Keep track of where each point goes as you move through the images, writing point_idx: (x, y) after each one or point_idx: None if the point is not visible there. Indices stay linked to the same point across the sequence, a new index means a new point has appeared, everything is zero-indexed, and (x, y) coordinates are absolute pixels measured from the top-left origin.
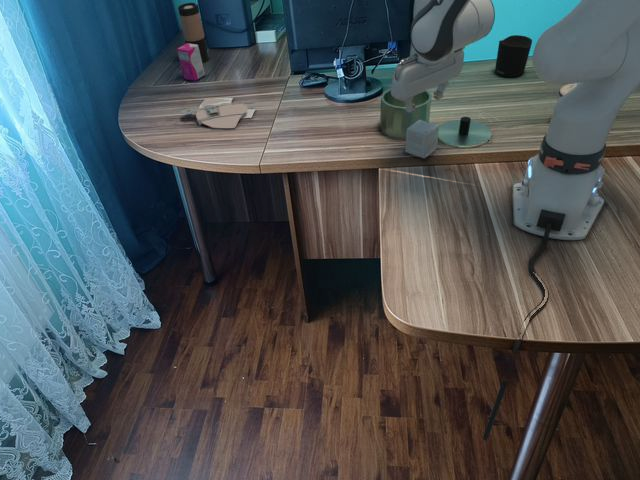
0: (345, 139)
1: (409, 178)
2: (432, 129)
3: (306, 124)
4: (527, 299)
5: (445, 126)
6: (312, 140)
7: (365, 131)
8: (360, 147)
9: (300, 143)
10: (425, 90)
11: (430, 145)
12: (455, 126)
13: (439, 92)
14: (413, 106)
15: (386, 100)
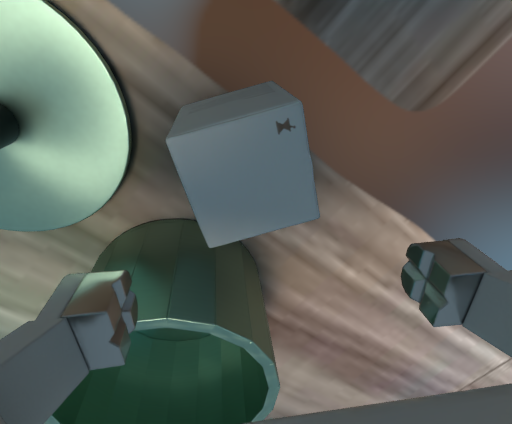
0: (351, 321)
1: (417, 8)
2: (232, 126)
3: (358, 403)
4: None
5: (46, 210)
6: (406, 352)
7: (282, 326)
8: (357, 273)
9: (433, 354)
10: (491, 397)
11: (241, 97)
12: (3, 185)
13: (88, 329)
14: (465, 266)
15: (207, 409)
